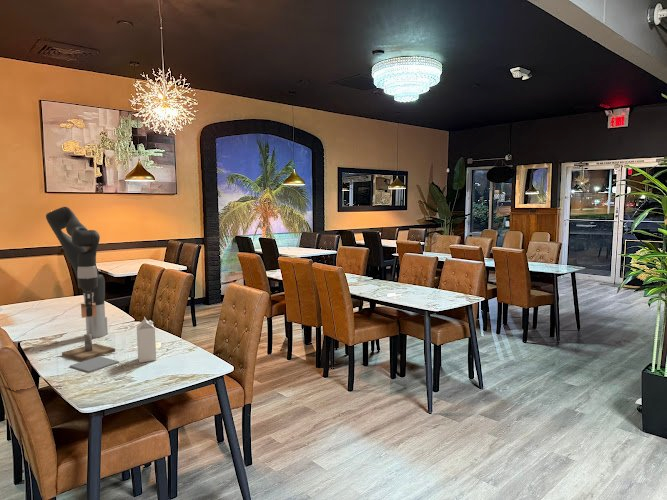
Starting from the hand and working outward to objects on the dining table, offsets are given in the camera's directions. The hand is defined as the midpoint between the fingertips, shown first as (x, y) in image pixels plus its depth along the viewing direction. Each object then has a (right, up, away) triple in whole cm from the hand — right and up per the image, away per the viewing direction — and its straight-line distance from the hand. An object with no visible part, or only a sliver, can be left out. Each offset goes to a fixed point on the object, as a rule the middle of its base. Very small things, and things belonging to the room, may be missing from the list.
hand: (89, 314), depth 199 cm
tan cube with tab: (0, 0, 0) cm, 0 cm away
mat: (+1, -22, +2) cm, 22 cm away
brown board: (-9, -21, +17) cm, 29 cm away
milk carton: (+21, -22, +9) cm, 32 cm away
